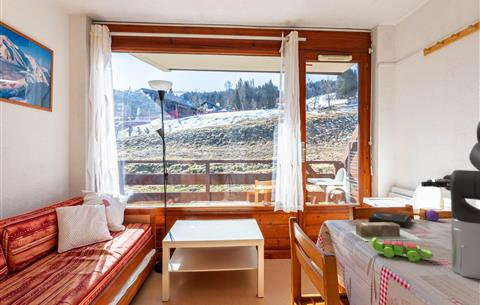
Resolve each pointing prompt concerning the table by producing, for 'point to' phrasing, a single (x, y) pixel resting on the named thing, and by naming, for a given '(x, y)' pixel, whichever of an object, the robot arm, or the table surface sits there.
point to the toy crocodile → (401, 250)
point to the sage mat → (402, 236)
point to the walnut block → (378, 229)
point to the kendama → (423, 214)
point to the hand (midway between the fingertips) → (422, 184)
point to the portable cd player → (390, 218)
